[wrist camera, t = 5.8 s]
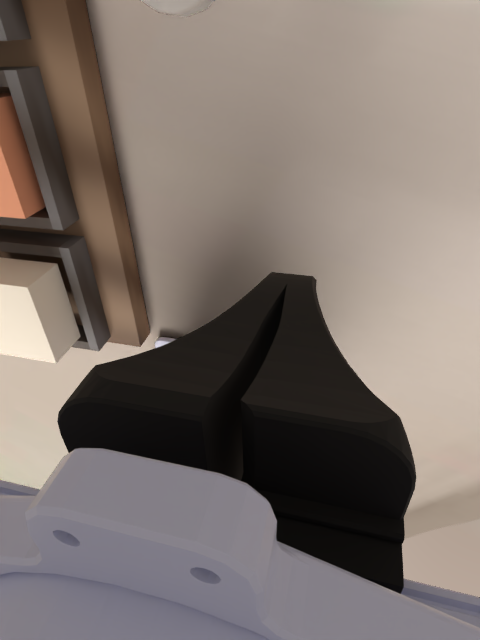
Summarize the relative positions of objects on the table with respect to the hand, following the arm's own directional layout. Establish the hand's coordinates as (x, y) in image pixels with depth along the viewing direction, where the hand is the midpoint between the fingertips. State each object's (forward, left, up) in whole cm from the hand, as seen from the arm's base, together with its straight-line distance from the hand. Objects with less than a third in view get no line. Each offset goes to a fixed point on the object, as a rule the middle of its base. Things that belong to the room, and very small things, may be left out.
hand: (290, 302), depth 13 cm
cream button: (-6, +16, -6) cm, 18 cm away
